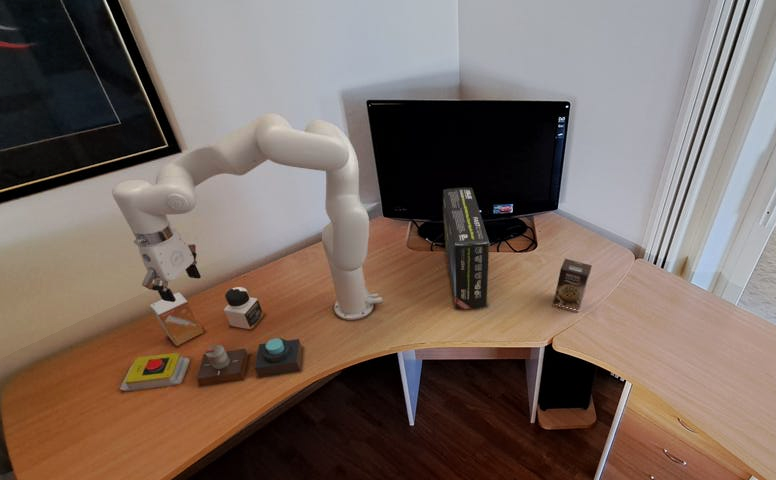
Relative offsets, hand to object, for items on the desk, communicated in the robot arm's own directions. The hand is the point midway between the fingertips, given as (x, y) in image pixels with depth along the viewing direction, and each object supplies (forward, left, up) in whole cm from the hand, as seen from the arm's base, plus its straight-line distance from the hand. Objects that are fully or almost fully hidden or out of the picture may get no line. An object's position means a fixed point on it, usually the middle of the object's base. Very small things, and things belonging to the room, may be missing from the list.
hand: (182, 288), depth 115 cm
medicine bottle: (-7, -12, -24) cm, 28 cm away
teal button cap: (-19, +8, -18) cm, 28 cm away
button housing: (-19, +8, -24) cm, 32 cm away
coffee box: (-111, 0, -24) cm, 114 cm away
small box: (+10, -9, -24) cm, 27 cm away
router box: (-79, -21, -24) cm, 85 cm away
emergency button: (+14, +6, -24) cm, 28 cm away
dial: (-4, +9, -21) cm, 23 cm away
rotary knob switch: (-4, +8, -24) cm, 26 cm away
